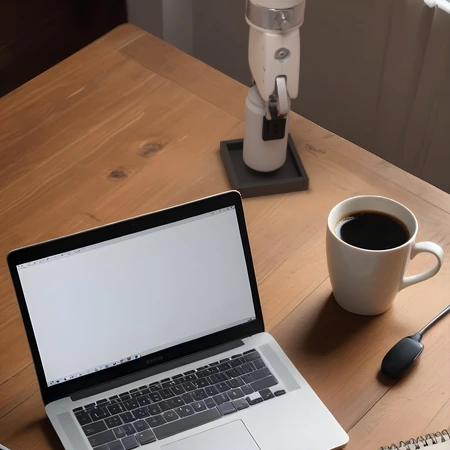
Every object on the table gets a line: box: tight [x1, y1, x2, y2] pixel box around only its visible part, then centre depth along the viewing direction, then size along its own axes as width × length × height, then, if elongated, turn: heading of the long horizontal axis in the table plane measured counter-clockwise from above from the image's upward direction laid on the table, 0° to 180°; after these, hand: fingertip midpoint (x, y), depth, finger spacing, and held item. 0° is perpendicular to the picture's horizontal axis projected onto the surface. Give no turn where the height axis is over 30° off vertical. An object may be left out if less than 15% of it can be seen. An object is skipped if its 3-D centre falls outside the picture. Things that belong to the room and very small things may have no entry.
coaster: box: [219, 132, 310, 199], centre depth 126 cm, size 11×11×2 cm
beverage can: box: [243, 84, 292, 172], centre depth 121 cm, size 6×6×12 cm
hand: (266, 122), depth 120 cm, fingers closed on beverage can, 6 cm apart
